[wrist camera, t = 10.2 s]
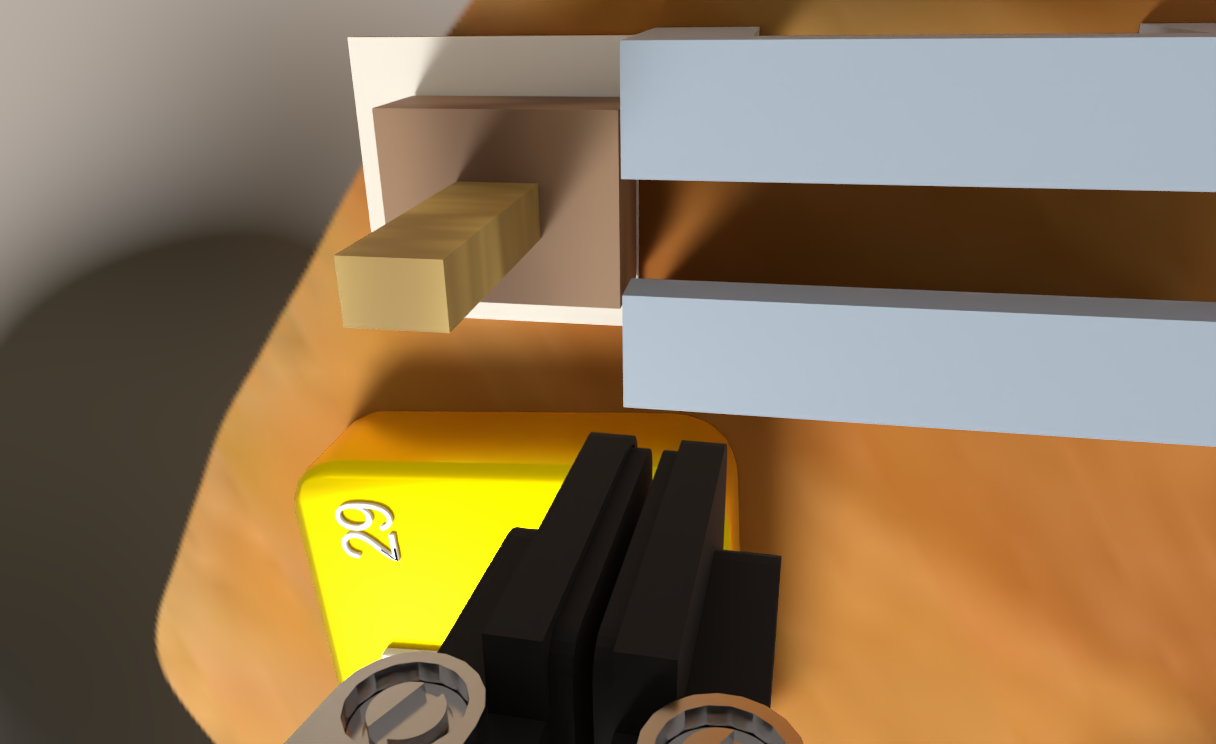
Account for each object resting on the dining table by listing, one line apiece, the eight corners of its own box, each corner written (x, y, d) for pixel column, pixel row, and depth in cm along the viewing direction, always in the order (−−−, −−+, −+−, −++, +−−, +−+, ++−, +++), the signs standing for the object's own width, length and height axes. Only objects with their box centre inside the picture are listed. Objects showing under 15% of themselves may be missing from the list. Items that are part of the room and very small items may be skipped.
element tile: (746, 740, 37) (740, 842, 33) (403, 713, 40) (356, 802, 36) (736, 408, 31) (727, 478, 27) (336, 405, 34) (269, 467, 30)
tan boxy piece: (635, 96, 27) (548, 162, 17) (636, 277, 29) (559, 424, 19) (412, 95, 28) (215, 156, 18) (429, 269, 30) (261, 404, 21)
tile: (638, 34, 26) (636, 35, 26) (639, 323, 30) (637, 326, 30) (351, 36, 28) (347, 37, 28) (384, 310, 32) (381, 313, 31)
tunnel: (1265, 22, 24) (1407, 35, 18) (1180, 356, 27) (1276, 450, 22) (655, 27, 26) (619, 40, 21) (654, 329, 30) (623, 407, 25)
